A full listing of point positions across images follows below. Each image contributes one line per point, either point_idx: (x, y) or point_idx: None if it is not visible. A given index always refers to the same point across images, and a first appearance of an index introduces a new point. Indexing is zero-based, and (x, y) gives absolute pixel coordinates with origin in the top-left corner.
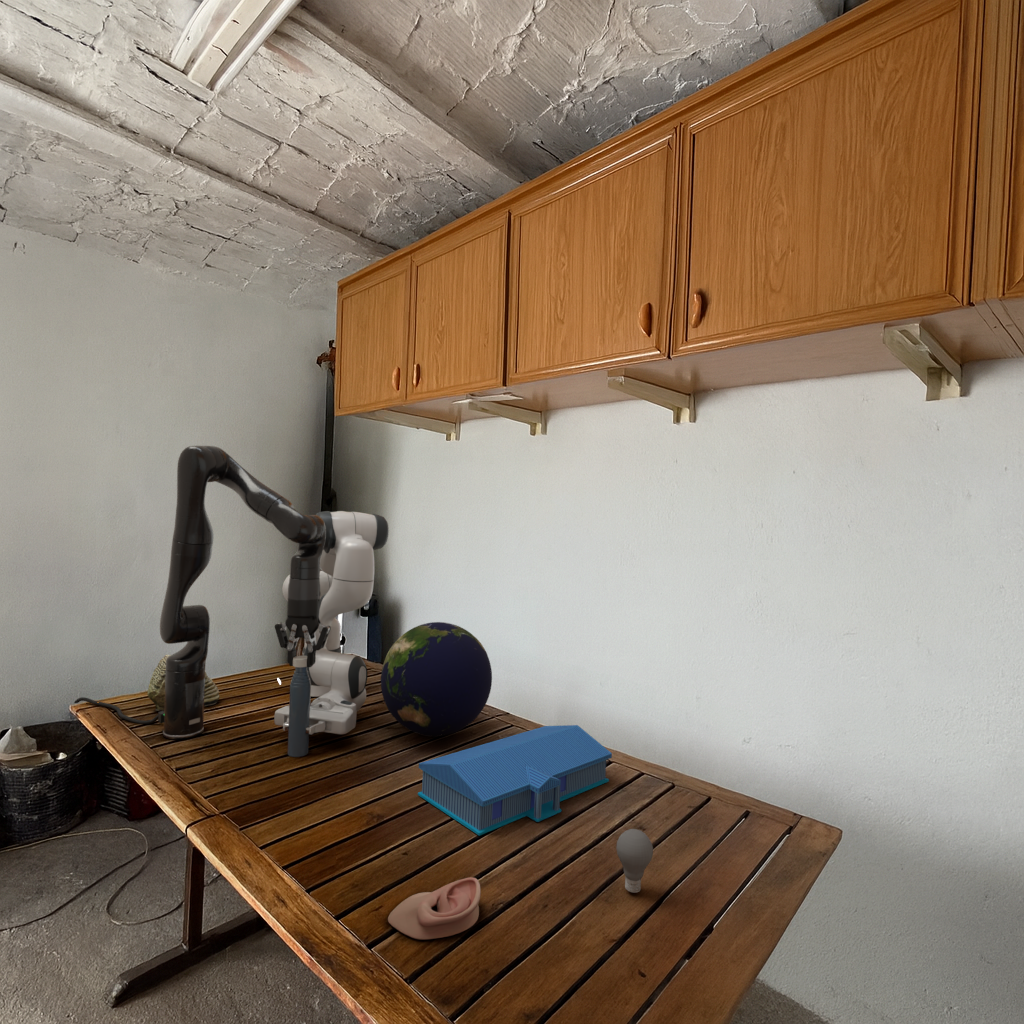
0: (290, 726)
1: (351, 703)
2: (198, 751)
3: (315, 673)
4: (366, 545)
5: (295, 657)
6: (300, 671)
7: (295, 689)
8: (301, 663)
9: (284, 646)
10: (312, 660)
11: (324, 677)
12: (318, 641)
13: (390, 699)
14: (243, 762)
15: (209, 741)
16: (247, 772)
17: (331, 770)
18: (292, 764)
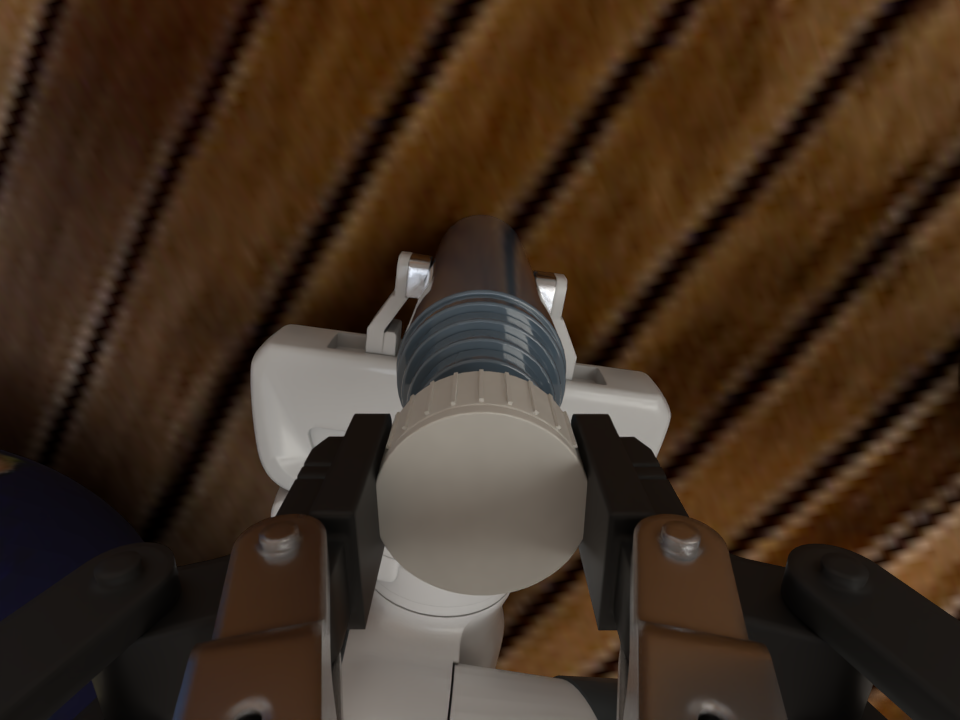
0: (508, 241)
1: None
2: (911, 185)
3: (558, 717)
4: None
5: (563, 498)
6: None
7: (486, 283)
8: (438, 400)
9: (789, 560)
10: (311, 467)
11: (495, 695)
12: (6, 686)
13: (4, 517)
14: (670, 111)
15: (899, 298)
16: (608, 4)
17: (257, 110)
18: (450, 137)
